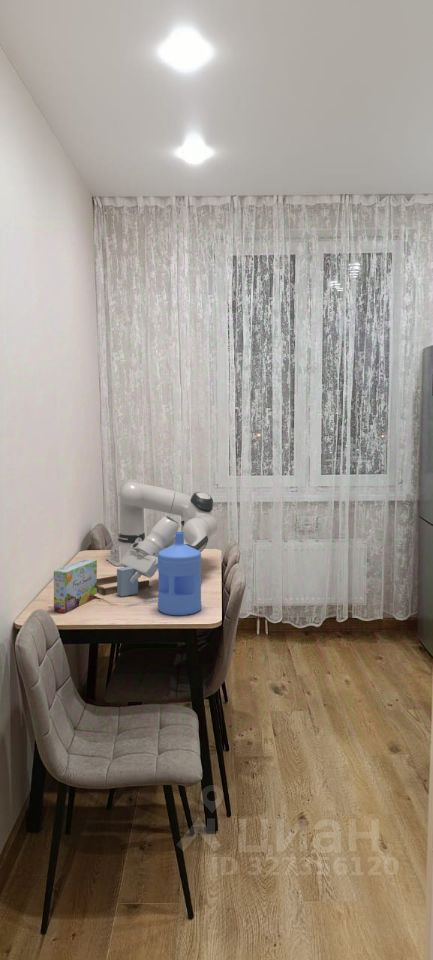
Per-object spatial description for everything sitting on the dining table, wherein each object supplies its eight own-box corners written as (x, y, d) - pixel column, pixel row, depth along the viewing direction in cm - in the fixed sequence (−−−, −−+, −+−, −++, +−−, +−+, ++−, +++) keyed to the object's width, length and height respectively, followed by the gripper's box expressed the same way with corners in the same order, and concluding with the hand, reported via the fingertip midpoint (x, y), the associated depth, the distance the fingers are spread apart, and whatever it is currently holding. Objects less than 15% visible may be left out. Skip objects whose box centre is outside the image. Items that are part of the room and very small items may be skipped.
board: (117, 594, 243) (116, 568, 242) (133, 591, 247) (133, 566, 246) (121, 596, 240) (121, 570, 239) (138, 593, 244) (137, 567, 243)
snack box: (66, 613, 226) (65, 571, 224) (53, 612, 228) (52, 570, 226) (98, 597, 245) (97, 558, 244) (85, 596, 247) (84, 557, 246)
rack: (86, 590, 255) (86, 580, 254) (132, 582, 267) (132, 572, 267) (103, 599, 243) (103, 589, 242) (151, 590, 255) (151, 580, 255)
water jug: (170, 601, 241) (169, 527, 238) (208, 605, 235) (208, 530, 232) (150, 613, 226) (149, 535, 223) (190, 618, 220) (190, 538, 217)
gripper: (168, 561, 241) (146, 591, 236) (140, 552, 257) (119, 579, 252) (158, 551, 238) (135, 581, 233) (130, 542, 254) (109, 570, 249)
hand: (127, 580), depth 243 cm, fingers closed on board, 3 cm apart
